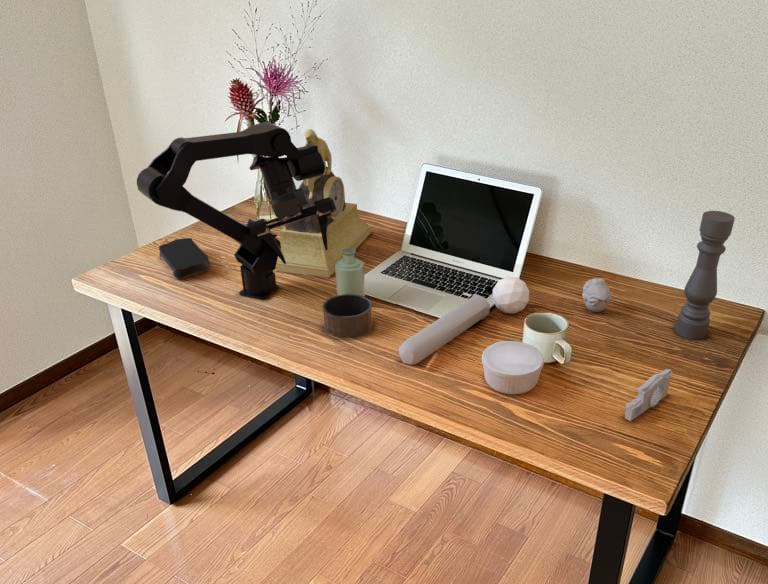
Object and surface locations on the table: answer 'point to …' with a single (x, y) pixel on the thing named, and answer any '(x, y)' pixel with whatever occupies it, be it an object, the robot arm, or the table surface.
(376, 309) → the table surface
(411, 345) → the tube
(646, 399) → the garden wall model
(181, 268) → the black sponge
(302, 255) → the decorative clock
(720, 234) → the candle holder
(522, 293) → the ball
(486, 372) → the ramekin
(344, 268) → the bottle
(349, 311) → the cup
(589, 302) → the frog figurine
